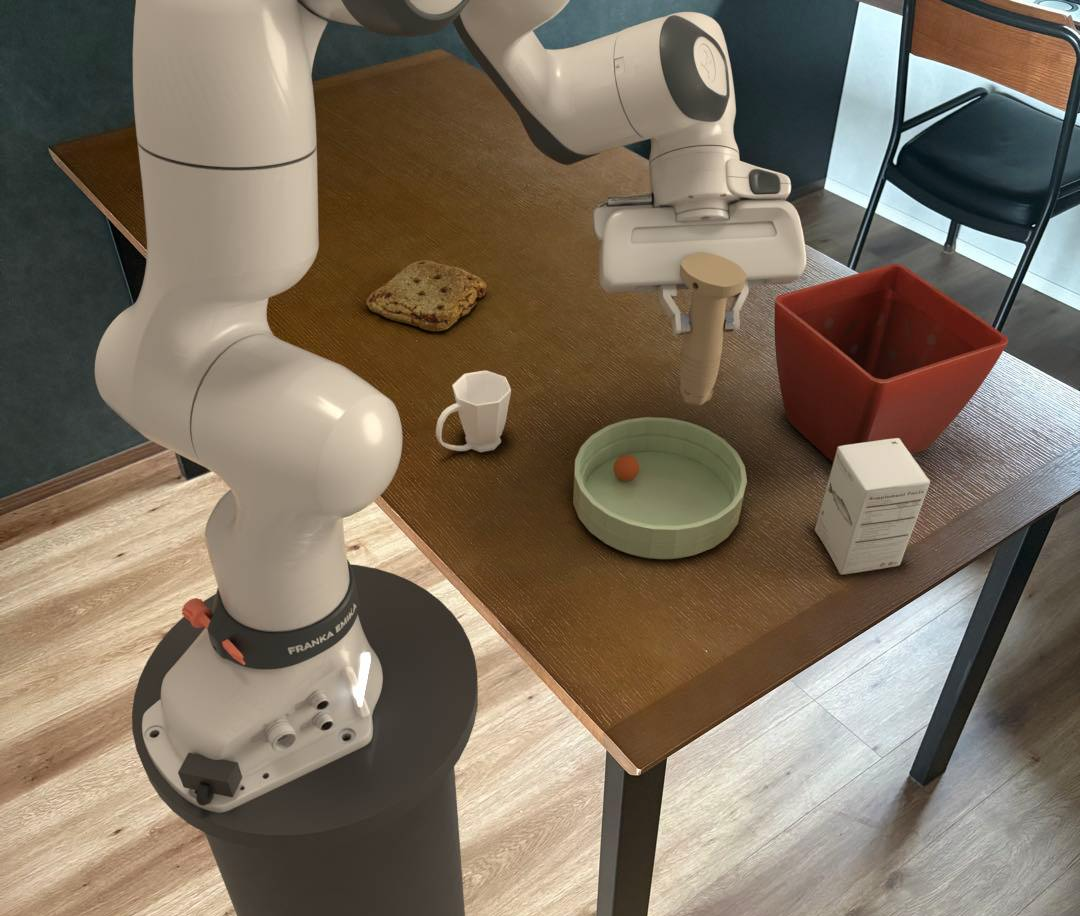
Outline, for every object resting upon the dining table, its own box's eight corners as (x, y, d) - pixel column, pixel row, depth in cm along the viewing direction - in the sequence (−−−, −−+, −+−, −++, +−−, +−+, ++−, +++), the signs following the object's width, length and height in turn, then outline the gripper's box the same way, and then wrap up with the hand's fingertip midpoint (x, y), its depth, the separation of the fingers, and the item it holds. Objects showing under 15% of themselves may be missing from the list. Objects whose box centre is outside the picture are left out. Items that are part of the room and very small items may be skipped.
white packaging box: (812, 530, 122) (835, 443, 113) (873, 522, 123) (901, 435, 114) (838, 577, 116) (864, 490, 108) (902, 567, 118) (933, 480, 109)
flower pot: (867, 373, 143) (899, 259, 132) (969, 456, 131) (1013, 339, 120) (748, 411, 137) (771, 296, 125) (844, 503, 125) (878, 384, 113)
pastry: (474, 264, 162) (474, 246, 160) (499, 327, 150) (499, 308, 148) (359, 277, 159) (357, 258, 157) (375, 342, 147) (373, 323, 145)
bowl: (661, 589, 115) (665, 556, 111) (538, 498, 125) (539, 465, 121) (774, 507, 124) (781, 474, 121) (652, 429, 134) (655, 396, 131)
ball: (625, 489, 125) (627, 470, 123) (607, 477, 127) (608, 457, 125) (643, 478, 127) (645, 458, 124) (625, 466, 128) (626, 446, 126)
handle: (687, 374, 115) (704, 247, 104) (734, 401, 112) (756, 273, 101) (656, 392, 113) (670, 264, 102) (703, 421, 109) (722, 292, 99)
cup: (523, 444, 132) (523, 390, 126) (456, 476, 127) (453, 422, 122) (489, 416, 136) (488, 362, 130) (422, 446, 131) (418, 392, 125)
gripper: (595, 185, 102) (606, 332, 102) (806, 176, 103) (817, 320, 104) (586, 206, 108) (597, 344, 108) (785, 197, 110) (795, 333, 110)
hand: (706, 332), depth 106 cm, fingers closed on handle, 3 cm apart
